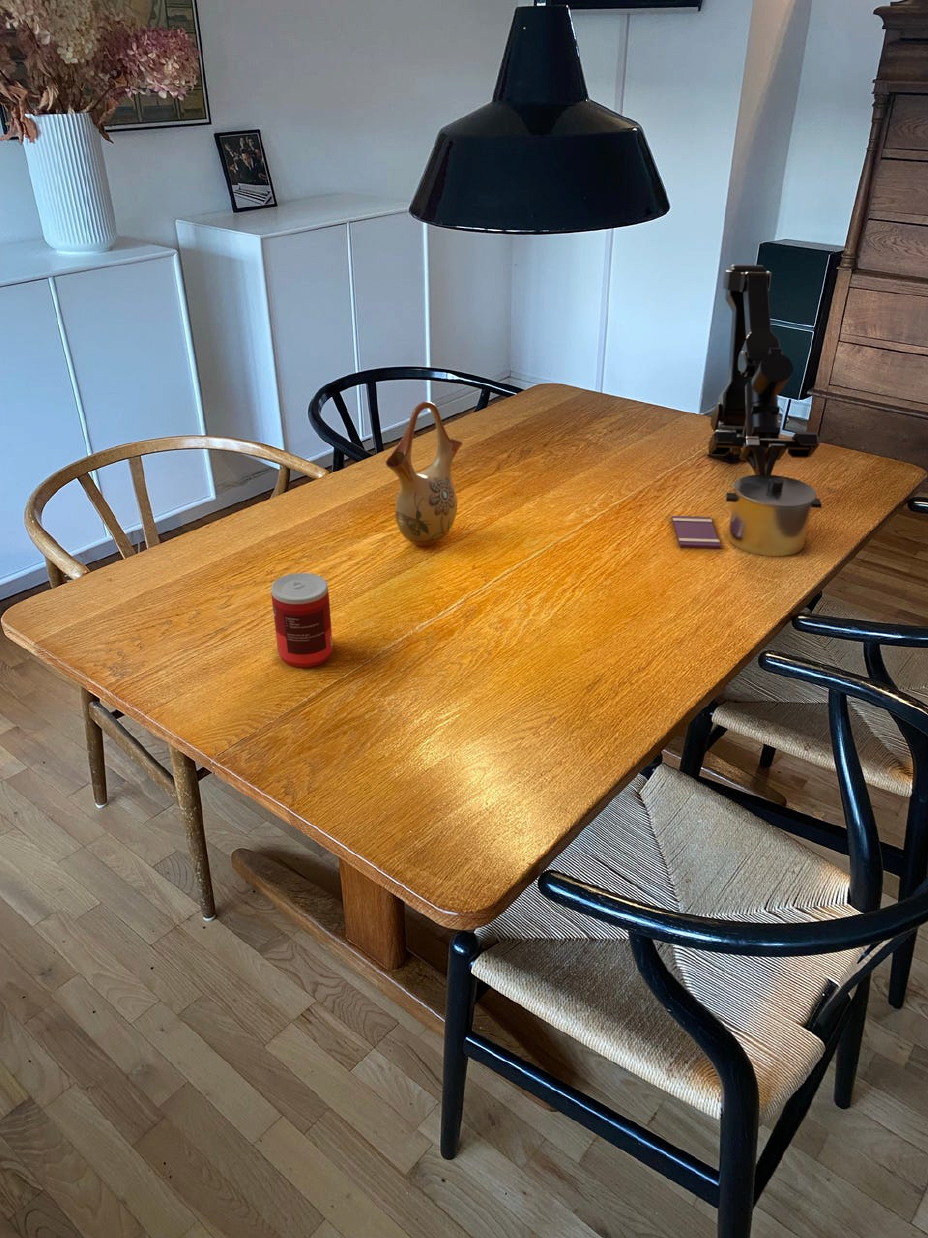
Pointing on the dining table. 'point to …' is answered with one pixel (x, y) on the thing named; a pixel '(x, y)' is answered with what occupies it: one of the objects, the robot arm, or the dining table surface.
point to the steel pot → (770, 514)
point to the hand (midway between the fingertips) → (763, 487)
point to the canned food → (302, 619)
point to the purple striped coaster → (695, 532)
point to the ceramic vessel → (425, 486)
